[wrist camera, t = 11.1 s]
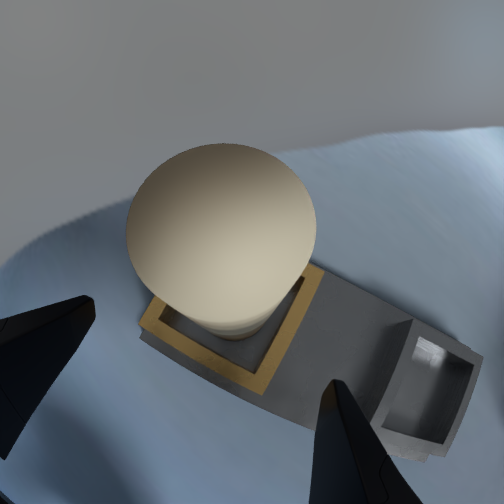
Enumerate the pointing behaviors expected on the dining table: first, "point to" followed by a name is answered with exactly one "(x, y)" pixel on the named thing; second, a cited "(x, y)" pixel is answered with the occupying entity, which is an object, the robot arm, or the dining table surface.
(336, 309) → the grey socket board
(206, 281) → the peg
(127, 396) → the dining table surface
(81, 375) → the dining table surface
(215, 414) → the dining table surface
